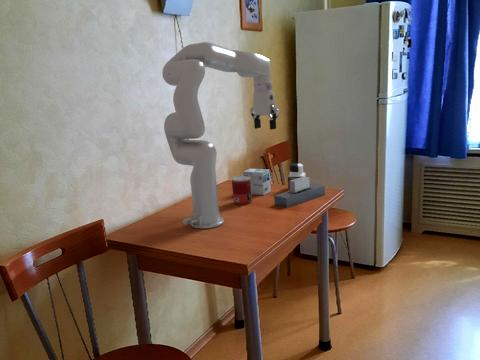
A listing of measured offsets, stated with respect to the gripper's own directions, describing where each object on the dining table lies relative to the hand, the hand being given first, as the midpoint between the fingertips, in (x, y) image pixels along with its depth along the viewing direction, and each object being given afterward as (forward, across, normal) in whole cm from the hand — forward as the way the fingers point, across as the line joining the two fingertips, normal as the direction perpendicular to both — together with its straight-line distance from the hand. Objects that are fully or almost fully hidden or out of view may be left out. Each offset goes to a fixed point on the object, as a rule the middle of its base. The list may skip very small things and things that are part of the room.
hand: (265, 128), depth 189 cm
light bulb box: (+31, +9, -1) cm, 32 cm away
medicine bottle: (+31, -2, -16) cm, 34 cm away
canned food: (+31, +2, +14) cm, 34 cm away
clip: (+29, -15, -4) cm, 33 cm away
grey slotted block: (+30, -15, -4) cm, 34 cm away
